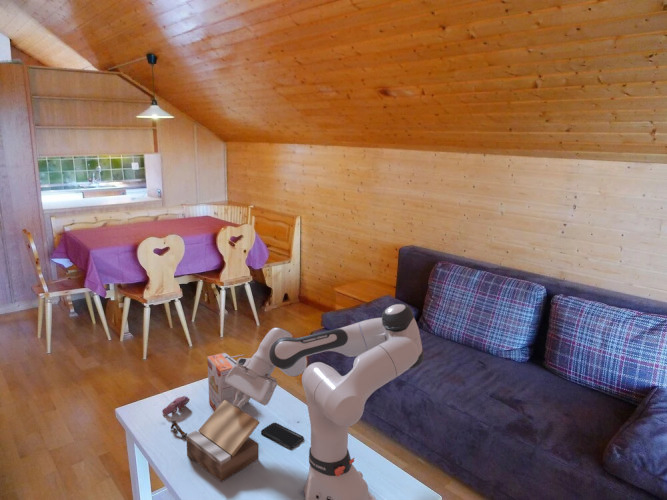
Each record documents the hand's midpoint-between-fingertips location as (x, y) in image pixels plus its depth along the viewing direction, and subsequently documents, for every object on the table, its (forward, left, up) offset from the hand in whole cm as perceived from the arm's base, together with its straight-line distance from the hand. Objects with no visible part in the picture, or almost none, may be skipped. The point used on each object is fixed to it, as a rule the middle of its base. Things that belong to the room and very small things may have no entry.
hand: (236, 406), depth 163 cm
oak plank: (0, +3, -7) cm, 7 cm away
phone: (-6, -15, -17) cm, 24 cm away
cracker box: (+23, -10, -17) cm, 30 cm away
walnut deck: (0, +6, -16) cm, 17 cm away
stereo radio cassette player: (+32, -20, -17) cm, 41 cm away
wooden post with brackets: (+22, +10, -17) cm, 29 cm away
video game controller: (+35, +2, -17) cm, 39 cm away
